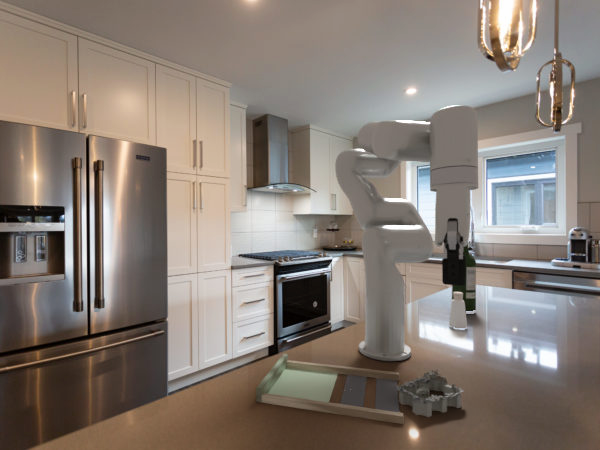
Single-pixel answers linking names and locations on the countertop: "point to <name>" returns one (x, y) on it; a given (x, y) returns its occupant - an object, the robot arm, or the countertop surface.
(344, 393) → the strips
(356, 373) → the channel
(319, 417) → the countertop surface
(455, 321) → the salt shaker
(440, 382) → the egg carton
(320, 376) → the pad
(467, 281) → the wine bottle
